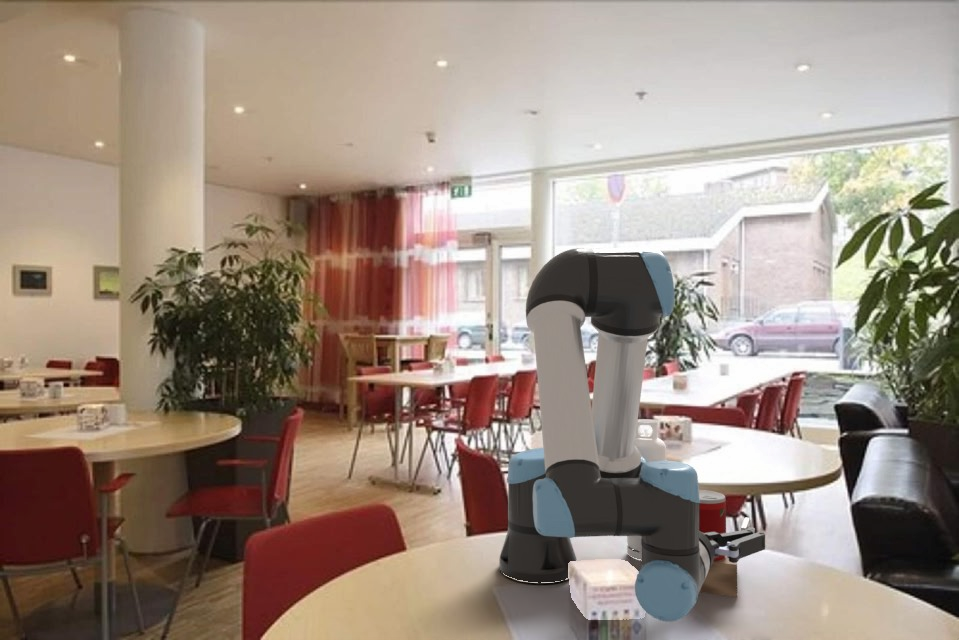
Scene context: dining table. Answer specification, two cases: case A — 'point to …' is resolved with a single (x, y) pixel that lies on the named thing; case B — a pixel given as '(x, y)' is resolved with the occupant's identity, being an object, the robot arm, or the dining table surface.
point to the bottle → (651, 452)
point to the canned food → (712, 513)
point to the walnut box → (721, 578)
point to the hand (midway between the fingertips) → (706, 520)
